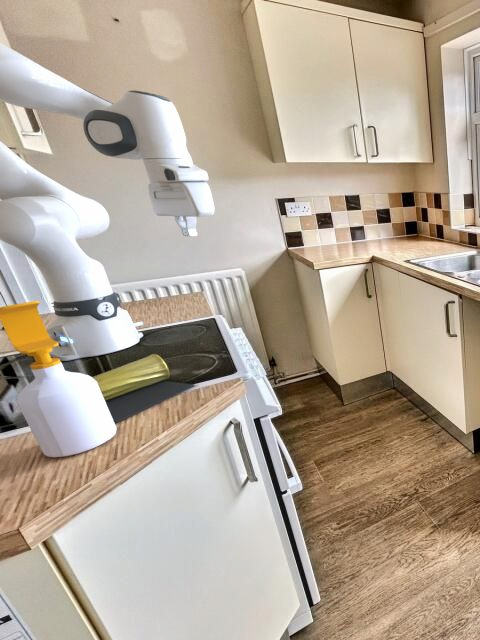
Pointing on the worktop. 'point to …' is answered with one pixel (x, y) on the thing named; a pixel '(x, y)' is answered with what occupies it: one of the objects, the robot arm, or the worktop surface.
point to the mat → (143, 399)
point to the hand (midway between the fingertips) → (190, 236)
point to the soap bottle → (55, 390)
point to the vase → (132, 376)
